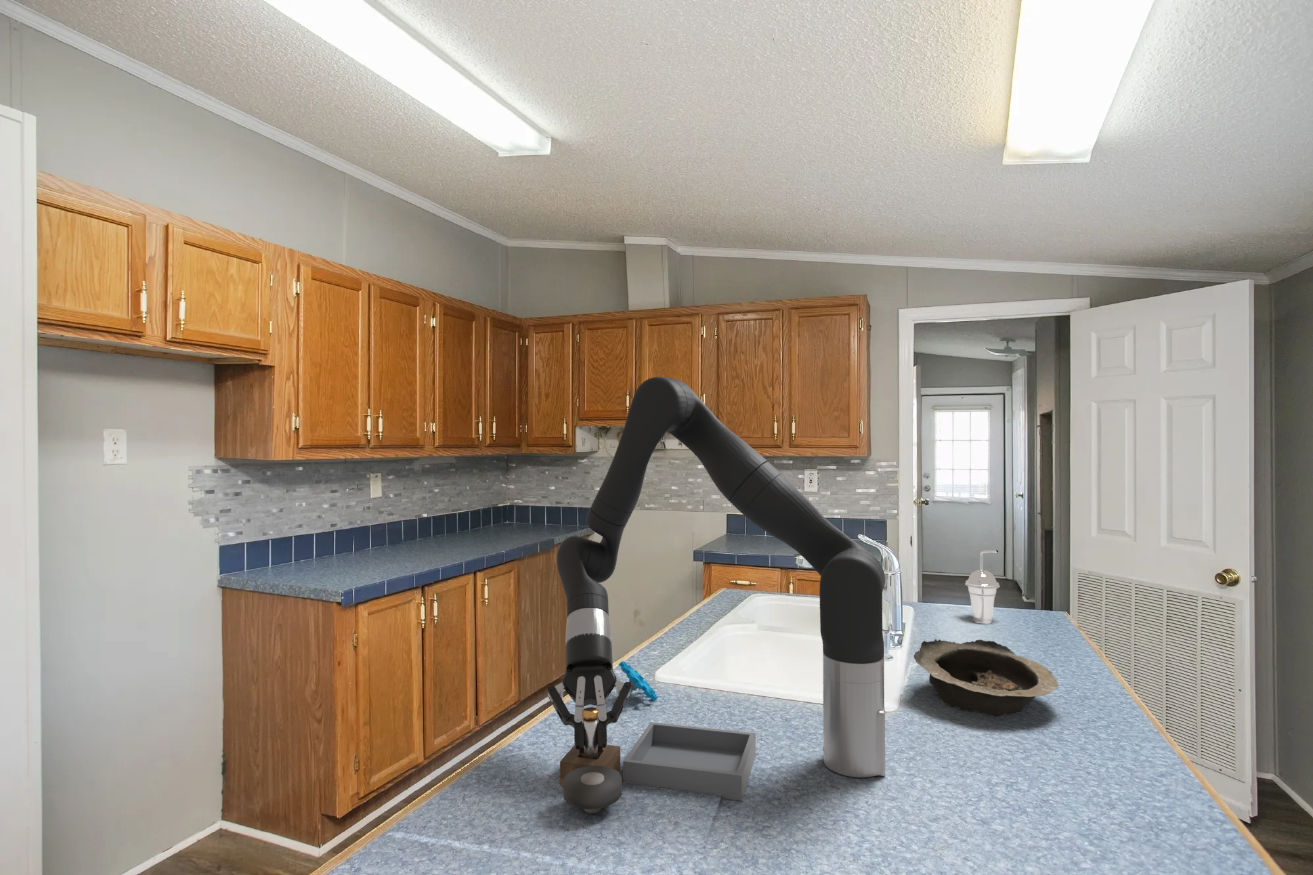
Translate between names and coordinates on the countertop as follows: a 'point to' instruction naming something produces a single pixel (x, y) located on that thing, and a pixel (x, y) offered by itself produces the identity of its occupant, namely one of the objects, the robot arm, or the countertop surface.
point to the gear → (637, 681)
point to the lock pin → (590, 732)
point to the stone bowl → (983, 676)
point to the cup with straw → (982, 592)
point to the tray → (692, 759)
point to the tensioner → (591, 779)
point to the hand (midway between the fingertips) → (591, 750)
